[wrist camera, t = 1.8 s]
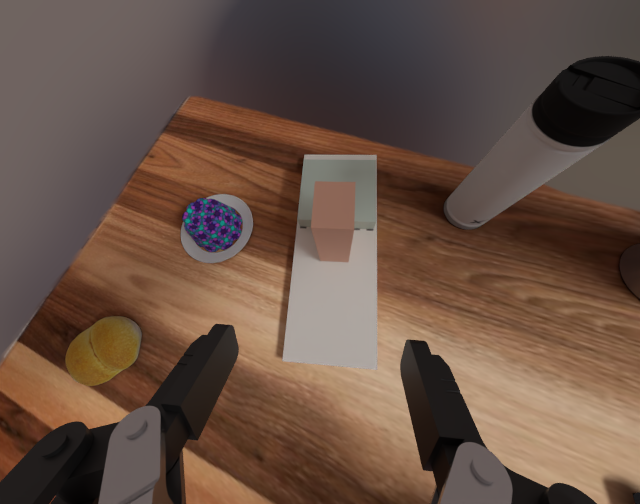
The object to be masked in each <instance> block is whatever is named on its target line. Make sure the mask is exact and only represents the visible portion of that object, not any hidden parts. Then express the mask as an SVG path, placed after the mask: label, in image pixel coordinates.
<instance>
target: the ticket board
mask: <svg viewBox="0 0 640 504" xmlns="http://www.w3.org/2000/svg"><path fill="white" fill-rule="evenodd" d="M315 181H323V182H356V184H355V219H354V234H353V239H352V245H351V251H350V256H349V262H332V261H320V258H319V254H318V251H317V248H316V244H315V241H314V237H313V234H312V230H311V220H312V208H313V197H314V186H315ZM282 361H286V362H297V363H308V364H319V365H330V366H341V367H352V368H363V369H374V370H377V155H304V162H303V171H302V180H301V189H300V199H299V208H298V217H297V230H296V239H295V248H294V258H293V267H292V276H291V285H290V295H289V304H288V313H287V323H286V332H285V341H284V351H283V360H282Z"/></svg>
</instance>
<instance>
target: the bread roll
mask: <svg viewBox="0 0 640 504" xmlns="http://www.w3.org/2000/svg"><path fill="white" fill-rule="evenodd" d="M141 338H142V332H141V330H140V327H139V326H138V325H137V324H136V323H135V322H134V321H132V320H131V319H129V318H126V317H122V316H111V317H105V318H103V319H101V320H99V321H97V322H96V323H95V324H94V325H92V326H91V327H90V328H88V329H86V330H85V331H83V332H82V333H80V334H79V335H78V336H77V337H76V338H75V339H74V340H73V341H72V342H71V344H70V346H69V348H68V351H67V353H66V357H65V359H66V366H67V369H68V371H69V373H70V374H71V376H72V378H73V379H74V380H75V381H76V382H78V383H81V384H84V385H88V386H93V385H98V384H101V383H104V382H106V381H108V380H110V379H111V378H113V377H114V376H115V375H117V374H118V373H119V372H121V371H122V370H124V369H126V368H128V367H129V366H130V365H132V364H133V363H134V362H135V361H136V359H137V357H138V354H139V349H140V343H141Z"/></svg>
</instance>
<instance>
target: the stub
mask: <svg viewBox="0 0 640 504" xmlns="http://www.w3.org/2000/svg"><path fill="white" fill-rule="evenodd" d="M355 184H356V182H323V181H315V186H314V197H313V208H312V220H311V230H312V234H313V237H314V241H315V244H316V248H317V251H318V254H319V258H320V261H332V262H349V256H350V251H351V245H352V239H353V234H354V219H355Z"/></svg>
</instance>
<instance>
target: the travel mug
mask: <svg viewBox="0 0 640 504" xmlns="http://www.w3.org/2000/svg"><path fill="white" fill-rule="evenodd" d="M639 118H640V62H639V61H635V60H632V59H628V58H622V57H612V56H601V57H592V58H586V59H583V60H579V61H577V62H575V63H574V64H572V65H570V66H569V67H568V68H567V69H565V70H563V71H562V72H561V73H560V74H559V75H558V76H557V77H556V78H555V79H554V80H553V81H552V83H551V84H550V85H549V86H548V87H547V88H546V90H545V91H544V92H543V93H542V94H541V95H540V96H538V97H537V98H536V99H535V100H534V102H533V103H532V104H531V105H530V106H529V107H528V109H526V111H525V112H524V113H523V114H522V115H521V116H520V117H519V119H518V120H517V121H516V122H515V123H514V124H513V125H512V126H511V128H510V129H509V130H508V131H507V132H506V133H505V134H504V135H503V137H502V138H501V139H500V140H499V141H498V142H497V143H496V144H495V145H494V147H493V148H492V149H491V150H490V151H489V152H488V153H487V155H486V156H485V157H484V158H483V159H482V160H481V161H480V162H479V163H478V165H477V166H476V167H475V168H474V169H473V170H472V171H471V172H470V174H469V175H468V176H467V177H466V178H465V179H464V180H463V181H462V183H461V184H460V185H459V186H458V187H457V188H456V189H455V190H454V192H453V193H452V194H451V195H450V196H449V197H448V198H447V200H446V201H445V204H444V213H445V216H446V218H447V219H448V220H449V222H450V223H452V224H453V225H454V226H456V227H458V228H462V229H476V228H478V227H480V226H481V225H483V224H484V223H486V222H487V221H489V220H490V219H492V218H493V217H495V216H496V215H498V214H499V213H501V212H502V211H504V210H505V209H507V208H508V207H510V206H511V205H513V204H514V203H516V202H517V201H519V200H520V199H522V198H523V197H525V196H526V195H528V194H529V193H531V192H532V191H534V190H535V189H537V188H538V187H540V186H541V185H543V184H544V183H546V182H547V181H549V180H550V179H552V178H553V177H555V176H556V175H557V174H559V173H560V172H562V171H563V170H565V169H566V168H568V167H569V166H571V165H572V164H574V163H575V162H577V161H578V160H580V159H581V158H583V157H584V156H586V155H587V154H589V153H590V152H592V151H593V150H595V149H596V148H598V147H599V146H601V145H602V144H604V143H605V142H607V141H608V140H610V138H611V137H613V136H614V135H616V134H617V133H618V132H620V131H622V130H623V129H625V128H626V127H627V126H629V125H631V124H632V123H633V122H635V121H637V120H638V119H639Z"/></svg>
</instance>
